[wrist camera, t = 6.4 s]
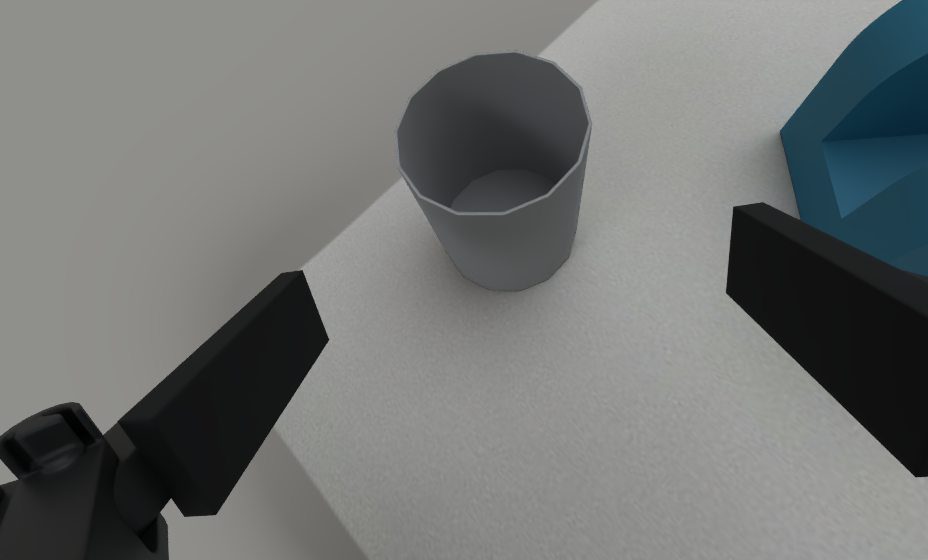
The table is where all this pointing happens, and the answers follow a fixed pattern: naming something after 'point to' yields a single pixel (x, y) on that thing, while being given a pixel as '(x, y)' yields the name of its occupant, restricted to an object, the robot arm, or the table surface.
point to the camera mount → (869, 142)
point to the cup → (498, 164)
